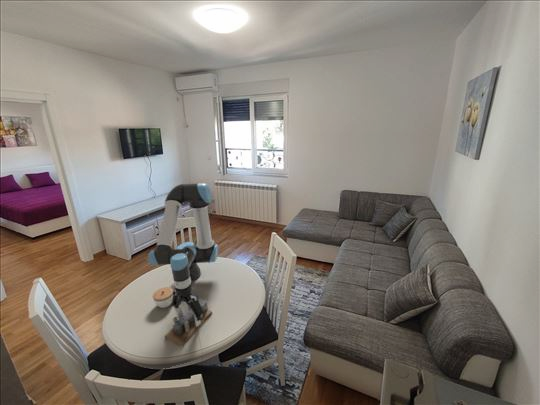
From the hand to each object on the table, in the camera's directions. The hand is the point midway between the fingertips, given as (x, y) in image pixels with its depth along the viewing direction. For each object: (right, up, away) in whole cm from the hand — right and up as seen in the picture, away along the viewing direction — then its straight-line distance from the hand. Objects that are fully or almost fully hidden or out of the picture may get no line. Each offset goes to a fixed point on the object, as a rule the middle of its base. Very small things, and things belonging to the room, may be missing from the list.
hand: (189, 320), depth 123 cm
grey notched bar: (+1, -1, +2) cm, 2 cm away
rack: (0, -2, +1) cm, 3 cm away
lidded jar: (-19, +2, +16) cm, 25 cm away
